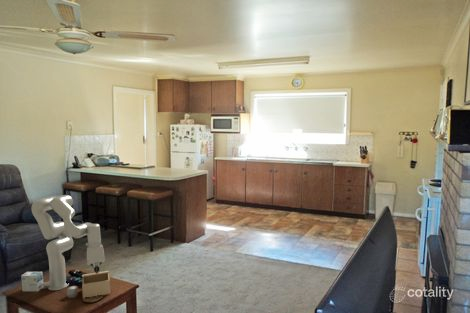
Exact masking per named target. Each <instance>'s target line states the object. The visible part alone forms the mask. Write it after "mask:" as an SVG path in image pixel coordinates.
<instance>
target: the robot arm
mask: <svg viewBox="0 0 470 313" xmlns="http://www.w3.org/2000/svg"><path fill="white" fill-rule="evenodd" d="M73 205H74V199H73V198H72V196H70V195H68V194H61V195H60V194H59V195H51V196H48V197H43V198H39V199H37V200H35V201H33V203H32V204H31V213H32V216H34V219H35V220H36V222H37V224H38V226H39V228H40V231H41V233H42V236H43V237H44V239H45V240H51V241H50V242H48V243H47V245H46V248H45V249H46V250H45V251H46V253H47V258H48V266H49V270H48V271H49V280H48V281H43V286H44V287H47V289H48V290H49V291H60V290H63V289H67V288H68V287H69V285H70V283H68V284H67V283H66V281H67V274H66V273H67V272H66V270H67V269H66V260H65V256H64V255H63V253H64V252H67V251H69V250H71V249H72V248H73V246H74V239H80V238H82V237H85V236H87V242H86V243H85V246H86V247H87V248H86V265H87V266H91V267H93V273H98V272H100V266H101V265H102V264H103V263H106V258H105V250H104V246H103V244H102V236H101V226H100V224H99V223H92V222H84V223H80V224H78V225H75V224H74V223H73V221H72V218H73V217H74V216H75V215H76V211H75V209H74V208H73V207H72V206H73ZM50 210H53V211H54V213H56V214H58V216H59V217H60V218H61V219H63V221H56V222H54V220H53V218H52V216H51V215H50V214H49V213H48V212H46V211H50ZM55 238H56V239H55ZM73 238H74V239H73ZM52 239H53V240H52Z"/></svg>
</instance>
